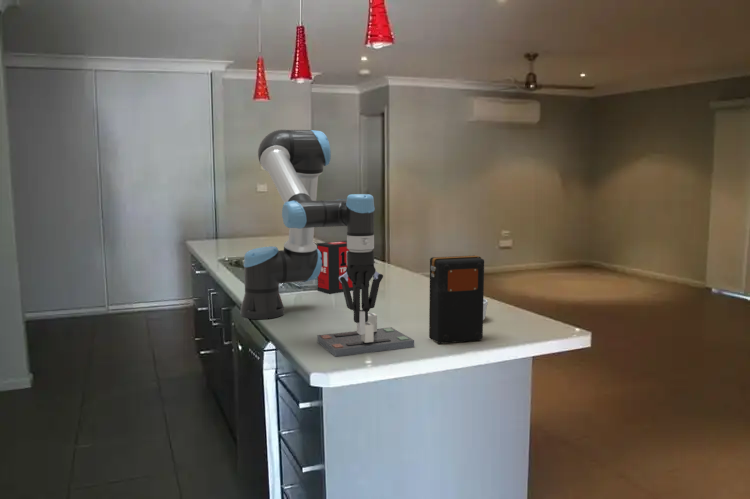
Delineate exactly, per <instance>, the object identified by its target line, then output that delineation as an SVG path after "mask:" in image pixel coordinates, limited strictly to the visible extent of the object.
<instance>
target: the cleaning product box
mask: <svg viewBox="0 0 750 499" xmlns="http://www.w3.org/2000/svg"><path fill="white" fill-rule="evenodd" d="M316 245H317V249H319V251H320V252H321V256H322V258H321V260H322V267H321V271H320V274H319V276H318V277H317V278H316V279H317V291H318V292H322V293H325V294H327V295H328V294H329V295H332V294H339V293H344V292H343V288H342V284H341V282H340V281H339V280H338V276H342V275H343V274H344V273H346V269H347V252H348V251H349V249H347V240H337V241H328V242H317V243H316ZM347 282H348V285H349V289H350V292H353V286H352V281H351V280H350V278H349V277H348V281H347ZM360 290H361V287H360Z"/></svg>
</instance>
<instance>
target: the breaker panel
mask: <svg viewBox="0 0 750 499" xmlns="http://www.w3.org/2000/svg"><path fill="white" fill-rule="evenodd" d="M316 336H317V338H316V341H317V343H318V344H319V345H320V346H322V347H323V349H327V350H326V351H328V352H329V353H330V354H331V355H333V356H334V357H335V358H337V357H346V356H354V355H361V354H368V353H377V352H378V353H379V352H385V351H393V350H394V351H395V350H399V349H402V350H403V349H409V348H414V347H415V339H413V338H411V337H410V336H408V335H406V334H404V333H402V332H400V331H399V330H397V329H395V328H394V327H390V326H389V327H383V328H381V327H380V328H377V331H376V332H374V342H368V343H365V342H363V341H362V340H361V335H360V334H358V333H357V330H354V331H345V332H335V333H328V334H319V335H318V334H317V335H316Z"/></svg>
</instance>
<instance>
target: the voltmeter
mask: <svg viewBox="0 0 750 499" xmlns="http://www.w3.org/2000/svg"><path fill="white" fill-rule="evenodd" d="M484 281H485V259H483V258H482V257H481V256H479V255H475V254H473V255H458V256H457V255H456V256H437V257H435V256H432V257H430V259H429V307H428V308H429V312H428V313H429V314H428V315H429V316H428V318H429V321H428V322H429V323H428V324H429V326H428V328H429V329H428V330H429V331H428V333H429V334H428V337H429V339H430V340H433V341H435V342H437V343H438V344H447V343H459V342H467V341H468V342H471V341H481V340H482V339H483V337H484V336H483V334H484V330H483V329H484V327H483V326H484V320H483V298H484V290H485V288H484V287H485V286H484V285H485V282H484Z"/></svg>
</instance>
